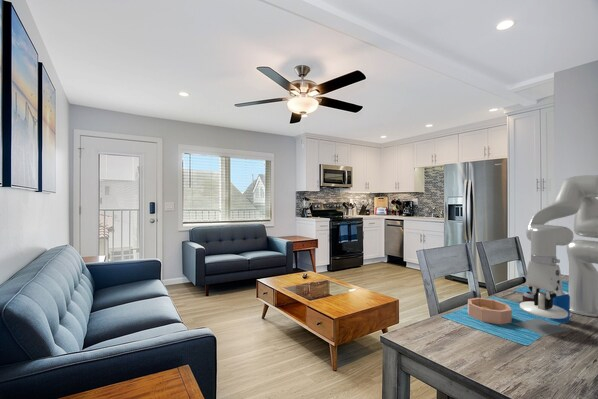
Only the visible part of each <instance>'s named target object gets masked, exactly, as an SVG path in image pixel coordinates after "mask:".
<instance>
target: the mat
mask: <svg viewBox="0 0 598 399" xmlns="http://www.w3.org/2000/svg"><path fill="white" fill-rule="evenodd" d="M513 325H516V326H518V327H521V328H524V329H525V330H528V331H531V332H533V333H536V334H538V335H540V336H543V337H546V336H547V337H548V336H551V335H552V336H553V335H555V334H560V333H564V332H565V333H566V332H568V331H571V329H569V328H567V327H564V326H561V325H558V324H555V323H553V322H550V321H547V320H544V319H541V318H539V317H538V318H533V319H528V320H523V321H519V322H515V323H513Z"/></svg>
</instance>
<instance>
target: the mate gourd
mask: <svg viewBox="0 0 598 399" xmlns="http://www.w3.org/2000/svg"><path fill="white" fill-rule="evenodd" d="M522 275H523V276H524V278H525V279H526V280H527V275H526V274H522ZM528 290H529V291H525V292H524V293H523V294H522V299H521V300H522V302H527V301H533V302H534V295H533V294H532V292H531V290H530V289H529V288H528Z"/></svg>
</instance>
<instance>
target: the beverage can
mask: <svg viewBox="0 0 598 399" xmlns="http://www.w3.org/2000/svg"><path fill="white" fill-rule="evenodd" d="M562 291H563V293H564V295H561V296H557V297H555V298H553V305H555V306H558V307H560V308H563V309H564V310H566V311H567V312H568V317H566V318H561V319H555V318H549V320H551V321H554V322H557V323H564V324H567V323H569V322H570V296H569V295H568V294H569V293H568V292H567V291H565V290H562ZM554 293H557V291H556V290H555V292H554Z"/></svg>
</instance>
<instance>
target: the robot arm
mask: <svg viewBox="0 0 598 399" xmlns="http://www.w3.org/2000/svg"><path fill="white" fill-rule="evenodd" d="M573 215H574V216H573ZM570 216H573V217H574V219H573V231H572V229H570V228H569V227H567V226H562V225H551V224H547V223H549V222H550V221H554V220H558V219H562V218H566V217H567V218H568V217H570ZM525 233H526V238H527V239H528V240H529V241H530V260H529V262H528V265H527V270H526V277H527V279H526V280H525V282H524V283H523V285H524V286H525V287H526V288H528V290H529V289H530V290H531V292H532V294H533V295H534V305H535V306H538V292H541V290H542V291H545V293H546V299H545V309H551V308H552V307H553V298H555V297H557V296H561V295H564V293H563V291H564V290H563V280H562V279H563V278H562V272H561V269H560V265H559V263H560V262H561V260H560V259H558V257H557V246H566V254H567V260H568V293H569V294H568V295H569V296H570V312H571V313H573V314H577V315H580V316H586V317H592V318H593V317H594V318H595V317H596V318H598V269H597V268H596V267H595V266H594V265H593V264H595V265H598V241H595V240H586V239H574V234H575V235H576V236H579V237H582V238H591V239H592V238H593V239H598V174H594V175H593V174H591V175H590V174H589V175H588V174H587V175H576V176H569V177H567V178H565V179H563V181H562V182H561V184H560V186H559V189H558V190H557V192H556V194H555V197H554V200H553V202H552V203H551V204H548V205H547V206H545V207H543V208H541V209H540V210H538V211H537V212H535V214H533V216H532V217H531V218H530V221H529V223H528V225H527V228H526V231H525ZM530 290H529V291H530ZM555 290H556V291H557V293H554V292H555Z"/></svg>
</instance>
